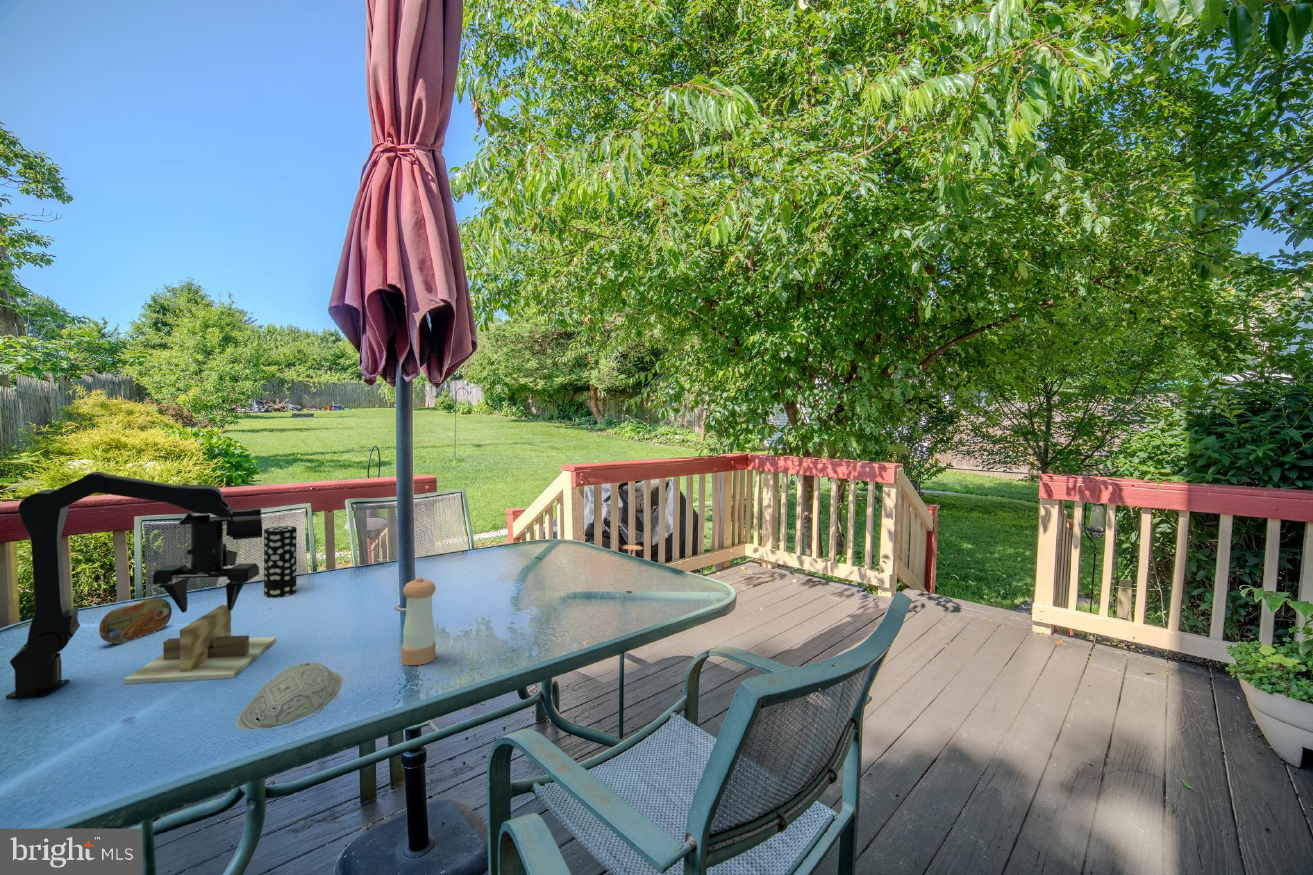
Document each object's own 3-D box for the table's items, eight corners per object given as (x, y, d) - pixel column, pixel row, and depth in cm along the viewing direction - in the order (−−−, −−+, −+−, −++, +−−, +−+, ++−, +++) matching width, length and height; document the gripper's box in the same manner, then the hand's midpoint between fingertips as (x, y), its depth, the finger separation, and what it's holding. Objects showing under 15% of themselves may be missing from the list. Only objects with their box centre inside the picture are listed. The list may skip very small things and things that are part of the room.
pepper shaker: (402, 654, 136) (403, 574, 135) (435, 651, 138) (436, 572, 138) (400, 667, 129) (401, 583, 128) (435, 663, 132) (436, 580, 131)
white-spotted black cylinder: (301, 592, 178) (301, 528, 178) (272, 599, 171) (272, 532, 170) (288, 587, 183) (288, 524, 182) (258, 594, 176) (258, 529, 175)
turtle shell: (213, 735, 101) (219, 696, 101) (282, 677, 125) (286, 646, 126) (308, 739, 103) (314, 701, 103) (357, 681, 128) (362, 651, 128)
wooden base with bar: (233, 678, 122) (233, 654, 122) (123, 683, 118) (123, 659, 118) (276, 640, 142) (276, 620, 141) (183, 644, 138) (183, 624, 138)
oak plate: (190, 671, 122) (190, 629, 122) (179, 671, 122) (179, 630, 122) (230, 641, 138) (230, 604, 138) (221, 642, 138) (221, 604, 137)
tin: (107, 649, 134) (106, 613, 134) (96, 647, 135) (96, 612, 135) (173, 626, 149) (172, 594, 149) (163, 625, 150) (162, 593, 149)
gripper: (270, 533, 139) (270, 598, 139) (181, 535, 135) (182, 600, 136) (246, 544, 128) (247, 614, 128) (149, 546, 124) (150, 617, 125)
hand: (207, 611), depth 130 cm, fingers open, 9 cm apart
